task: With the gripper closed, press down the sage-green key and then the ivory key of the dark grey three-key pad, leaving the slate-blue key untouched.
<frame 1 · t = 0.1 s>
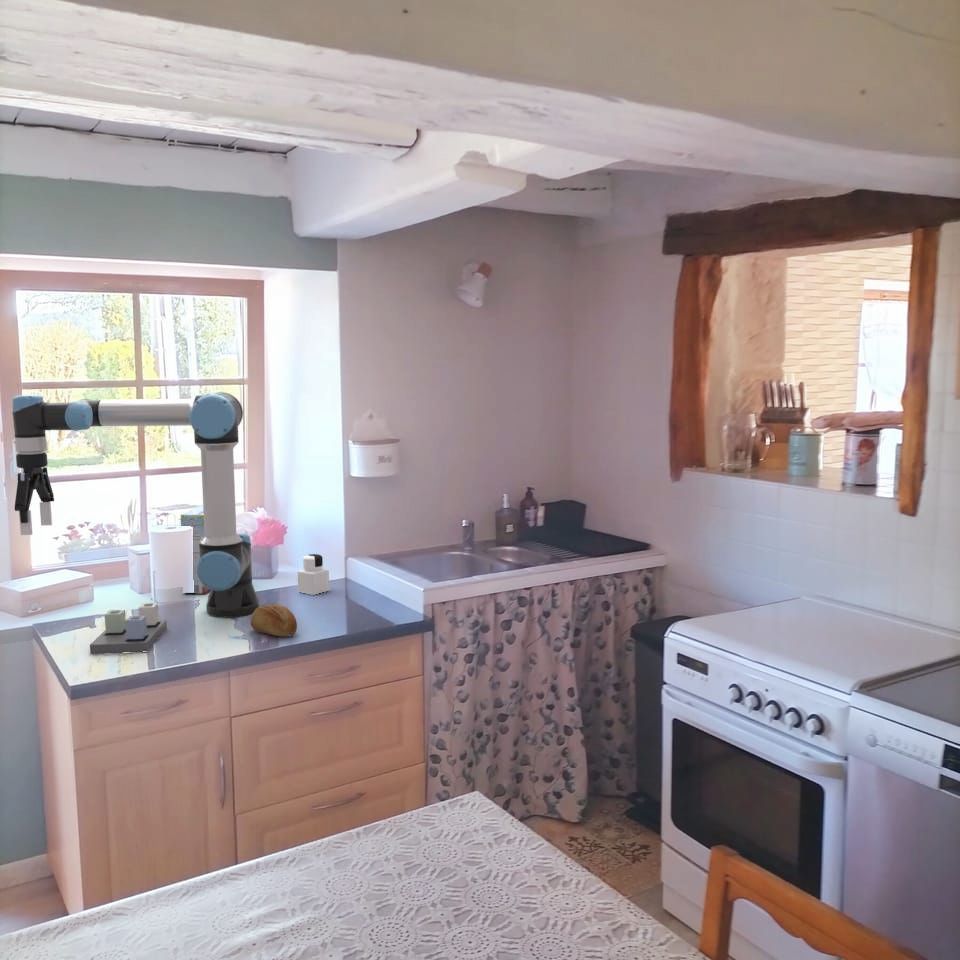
hand: (36, 529, 247), 28 cm above the kitchen counter, tool pointing down, fingers open, 13 cm apart
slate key: (136, 626, 233), point 6 cm above the kitchen counter, slide at 0.0 cm
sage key: (115, 621, 239), point 6 cm above the kitchen counter, slide at 0.0 cm
ivory key: (148, 613, 245), point 6 cm above the kitchen counter, slide at 0.0 cm
keypad board: (130, 641, 240), on the kitchen counter
stacked cream blocks: (313, 592, 289), on the kitchen counter
snack box: (206, 586, 297), on the kitchen counter
bread roll: (273, 634, 246), on the kitchen counter
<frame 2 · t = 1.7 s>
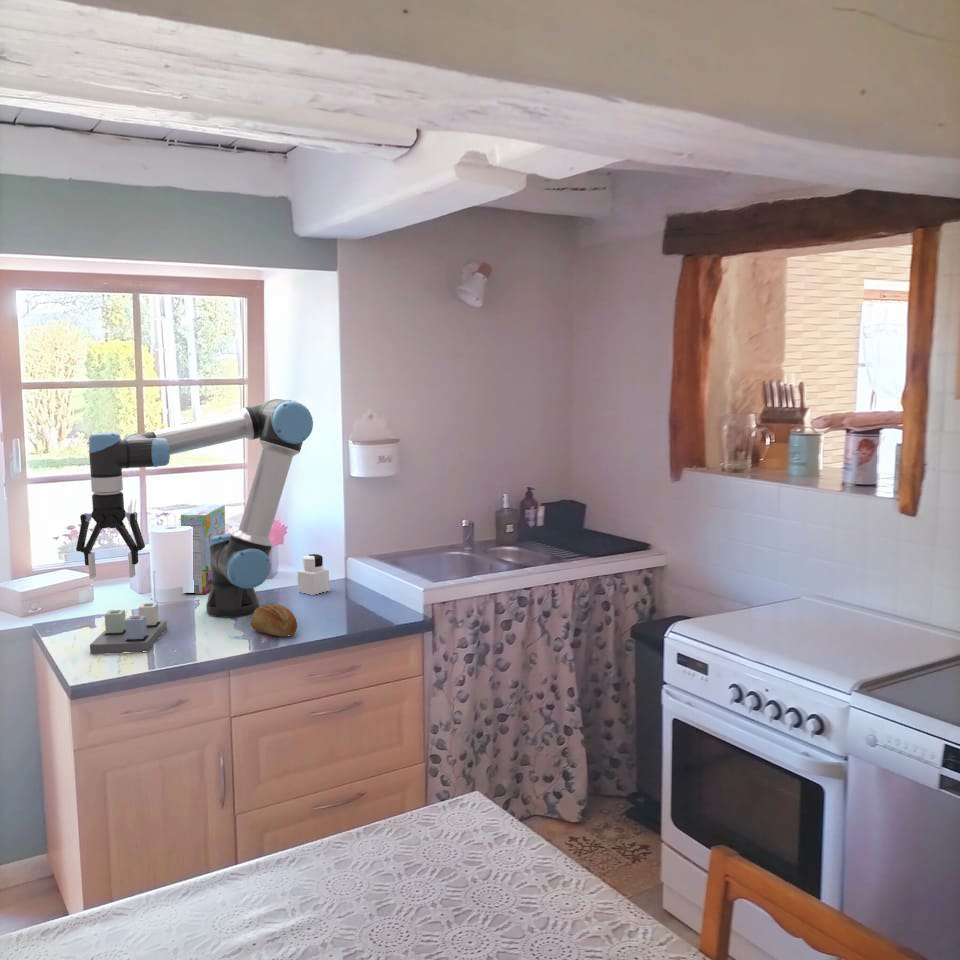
hand: (112, 576, 237), 18 cm above the kitchen counter, tool pointing down, fingers open, 9 cm apart
nothing on the kitchen counter moved.
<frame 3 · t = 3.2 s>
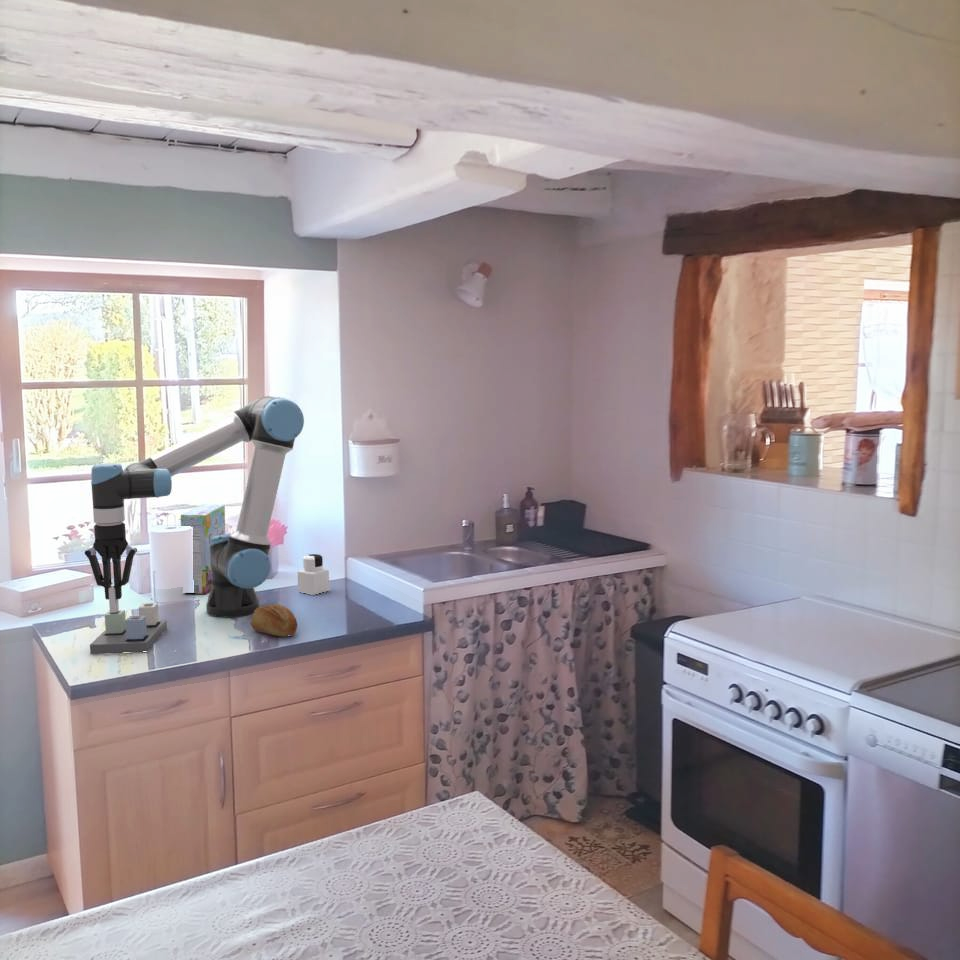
hand: (114, 611, 238), 8 cm above the kitchen counter, tool pointing down, fingers closed
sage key: (115, 621, 239), point 5 cm above the kitchen counter, slide at 0.1 cm, touching gripper
everything else where it was.
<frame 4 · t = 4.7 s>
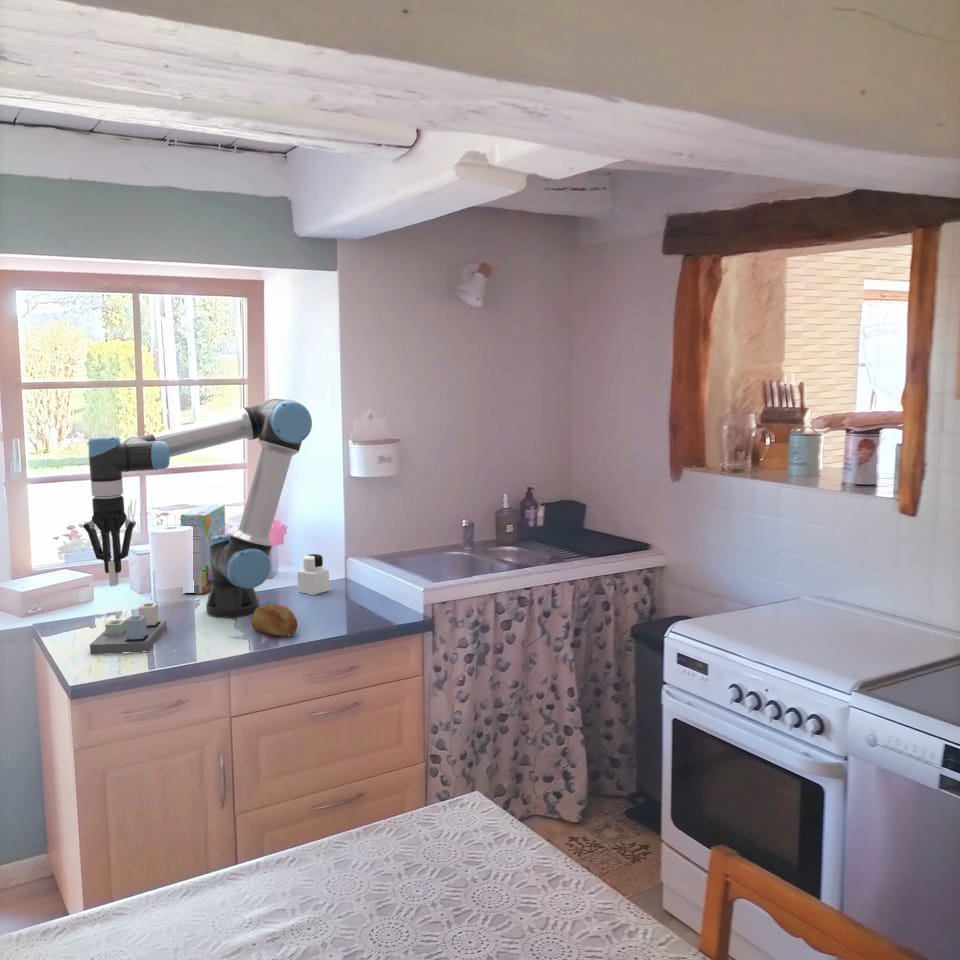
hand: (114, 584, 237), 15 cm above the kitchen counter, tool pointing down, fingers closed
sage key: (116, 631, 239), point 3 cm above the kitchen counter, slide at 2.8 cm
everything else where it was.
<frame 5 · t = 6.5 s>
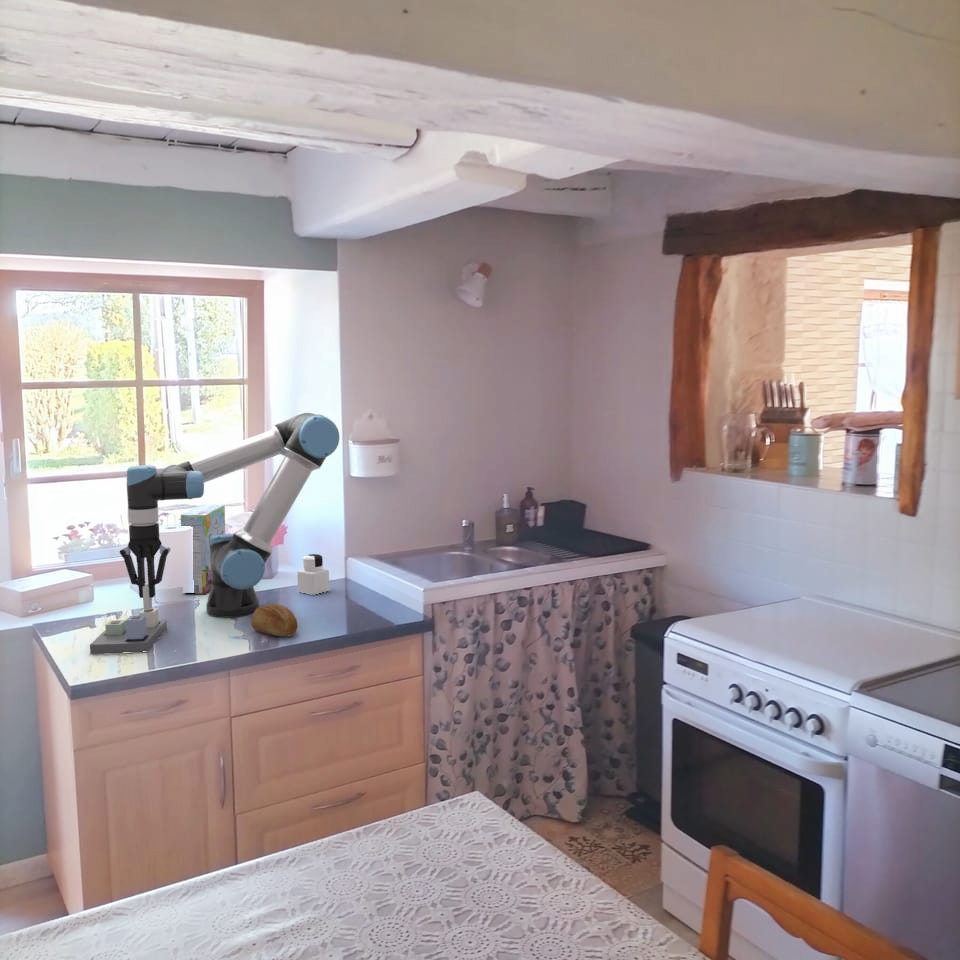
hand: (147, 608, 245), 7 cm above the kitchen counter, tool pointing down, fingers closed
ivory key: (149, 619, 245), point 4 cm above the kitchen counter, slide at 1.5 cm, touching gripper
everything else where it was.
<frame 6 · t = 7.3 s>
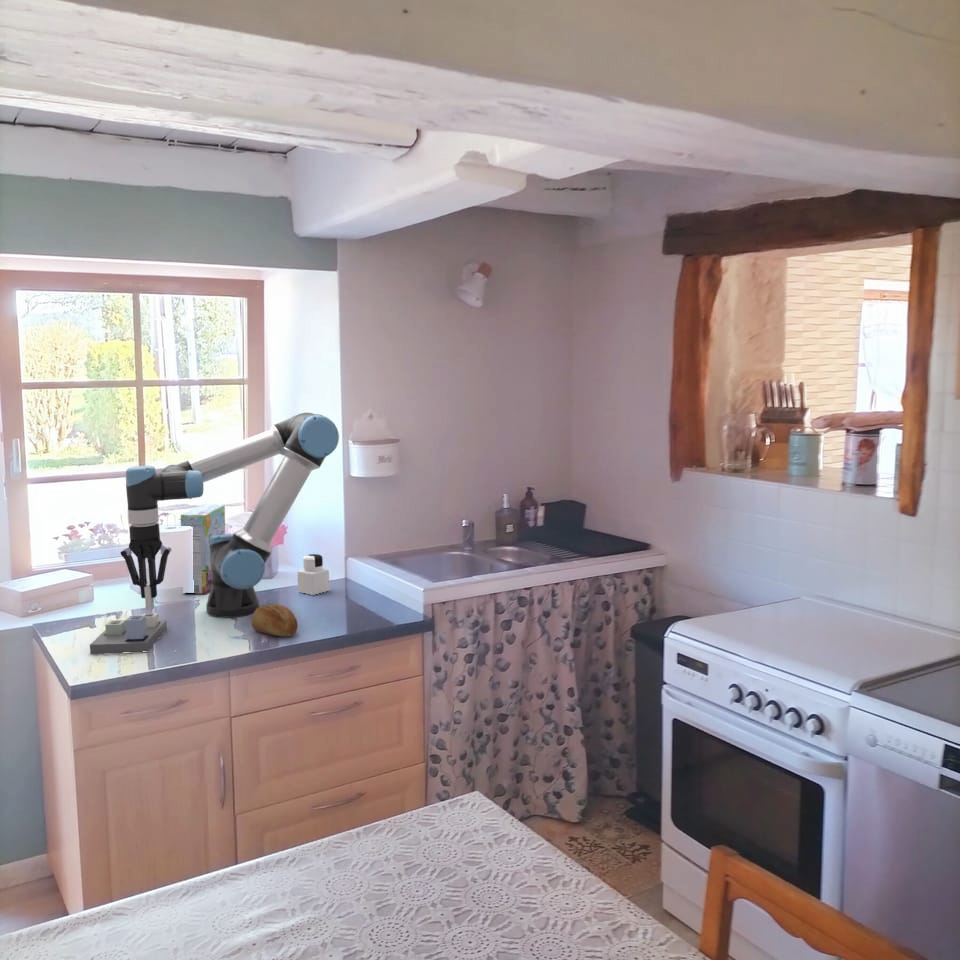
hand: (150, 609, 245), 7 cm above the kitchen counter, tool pointing down, fingers closed
ivory key: (149, 623, 246), point 3 cm above the kitchen counter, slide at 2.8 cm
everything else where it was.
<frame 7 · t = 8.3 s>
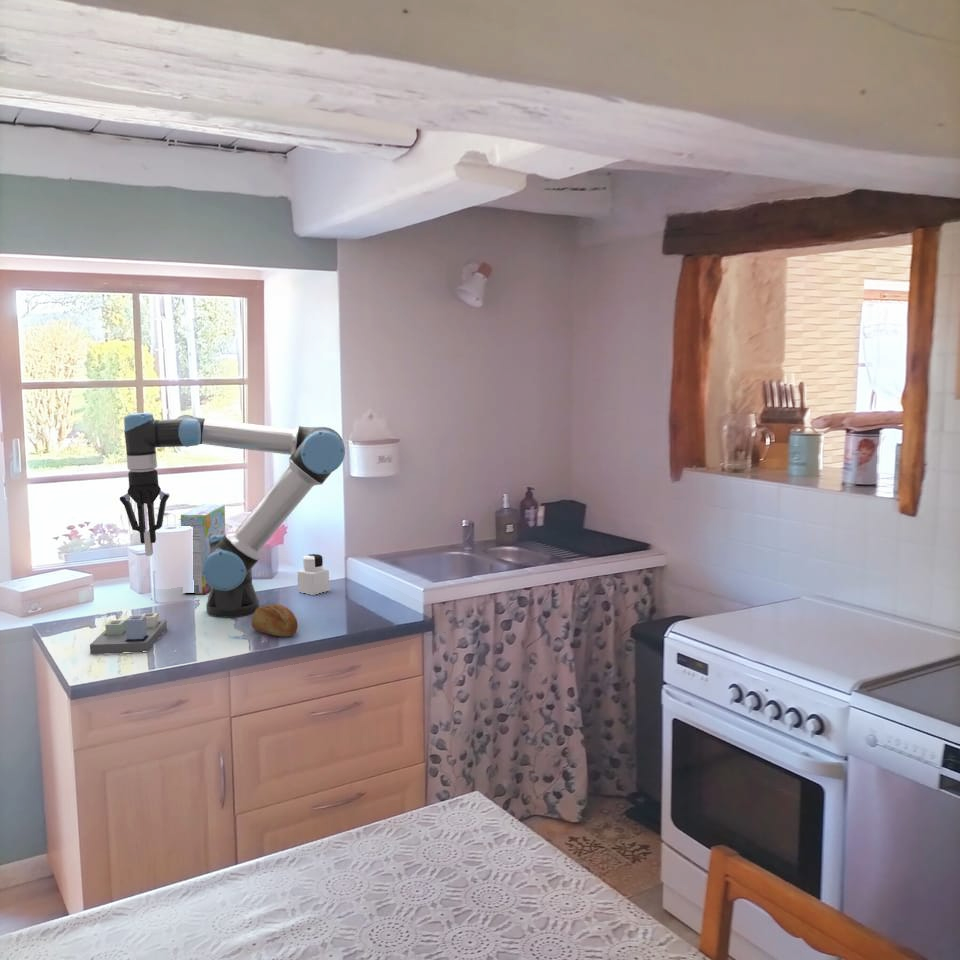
hand: (149, 554, 249), 21 cm above the kitchen counter, tool pointing down, fingers closed
nothing on the kitchen counter moved.
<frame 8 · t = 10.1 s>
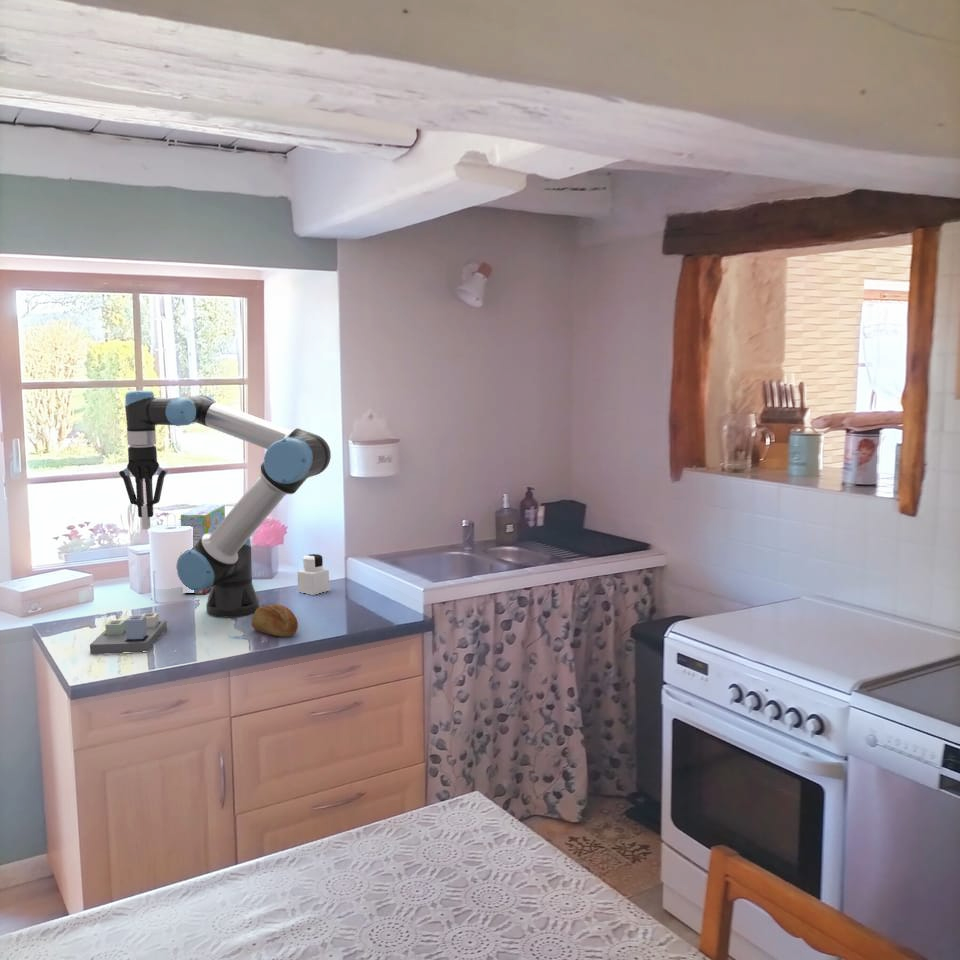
hand: (146, 528, 257), 26 cm above the kitchen counter, tool pointing down, fingers closed
nothing on the kitchen counter moved.
at the end: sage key slide at 2.8 cm; ivory key slide at 2.8 cm; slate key slide at 0.0 cm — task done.
